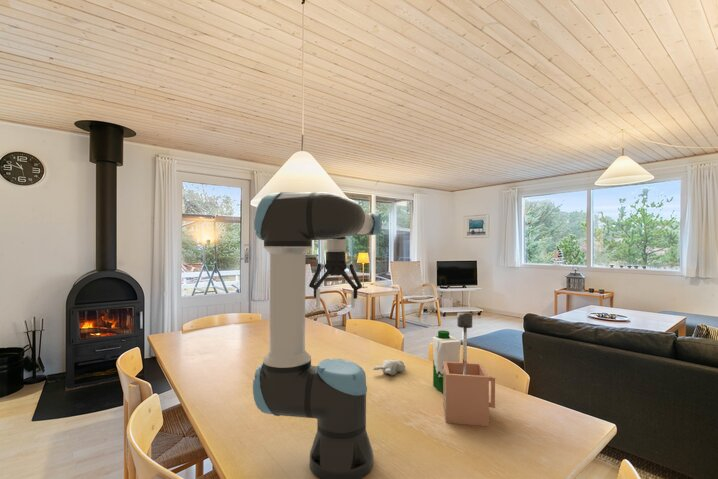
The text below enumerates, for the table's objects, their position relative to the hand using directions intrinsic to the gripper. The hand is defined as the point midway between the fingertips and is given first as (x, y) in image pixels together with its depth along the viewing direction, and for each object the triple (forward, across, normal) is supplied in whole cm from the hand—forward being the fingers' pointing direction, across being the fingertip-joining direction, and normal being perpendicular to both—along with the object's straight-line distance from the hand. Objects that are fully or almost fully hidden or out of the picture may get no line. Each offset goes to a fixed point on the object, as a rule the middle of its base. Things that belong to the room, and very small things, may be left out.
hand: (335, 306), depth 137 cm
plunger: (+19, -45, +19) cm, 53 cm away
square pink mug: (+28, -47, +19) cm, 58 cm away
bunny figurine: (+28, -20, -12) cm, 37 cm away
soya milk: (+28, -41, 0) cm, 50 cm away
